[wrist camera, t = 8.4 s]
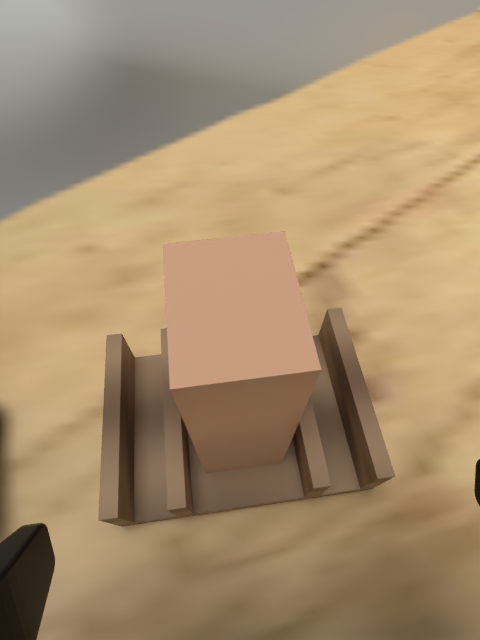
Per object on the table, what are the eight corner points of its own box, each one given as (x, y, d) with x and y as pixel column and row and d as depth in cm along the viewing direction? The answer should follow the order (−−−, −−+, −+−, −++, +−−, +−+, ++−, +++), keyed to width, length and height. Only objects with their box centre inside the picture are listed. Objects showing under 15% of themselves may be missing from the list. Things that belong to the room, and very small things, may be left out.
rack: (371, 488, 21) (395, 476, 18) (121, 526, 20) (98, 520, 17) (328, 339, 25) (341, 307, 22) (124, 364, 24) (106, 335, 21)
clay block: (281, 462, 21) (321, 369, 10) (206, 473, 20) (169, 389, 10) (265, 375, 23) (284, 231, 13) (198, 384, 23) (163, 244, 13)
